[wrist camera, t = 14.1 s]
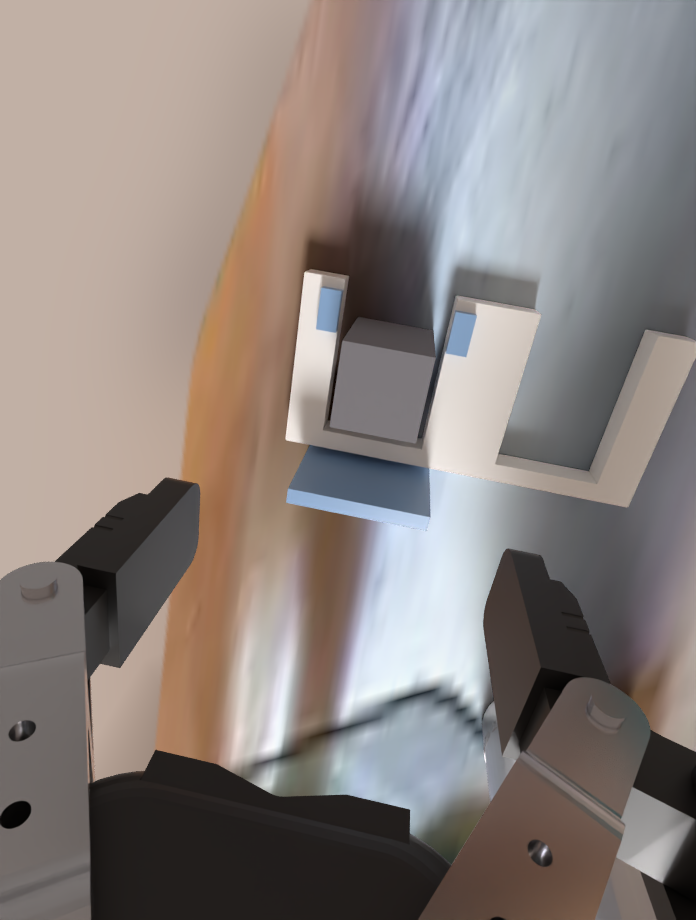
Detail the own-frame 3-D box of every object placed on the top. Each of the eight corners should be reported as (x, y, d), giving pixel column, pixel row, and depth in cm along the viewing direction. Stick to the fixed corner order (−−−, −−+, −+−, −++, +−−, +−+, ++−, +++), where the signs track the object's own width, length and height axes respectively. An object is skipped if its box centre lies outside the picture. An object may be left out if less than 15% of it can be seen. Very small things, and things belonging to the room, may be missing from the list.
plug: (433, 330, 27) (435, 357, 22) (417, 401, 29) (415, 443, 24) (358, 316, 28) (342, 340, 22) (346, 388, 29) (329, 427, 24)
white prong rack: (686, 336, 26) (755, 367, 21) (609, 513, 30) (649, 576, 25) (310, 269, 27) (282, 281, 22) (289, 449, 31) (261, 497, 26)
